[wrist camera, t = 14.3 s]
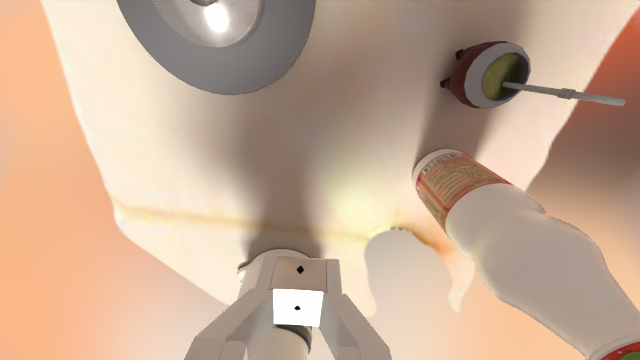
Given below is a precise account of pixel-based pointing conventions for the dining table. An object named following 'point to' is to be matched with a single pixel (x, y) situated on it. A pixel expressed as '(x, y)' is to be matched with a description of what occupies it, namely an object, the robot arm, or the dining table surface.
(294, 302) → the robot arm
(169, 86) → the dining table surface
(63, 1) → the dining table surface
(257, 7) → the cover
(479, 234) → the fruit juice
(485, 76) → the mate gourd
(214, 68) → the turntable
